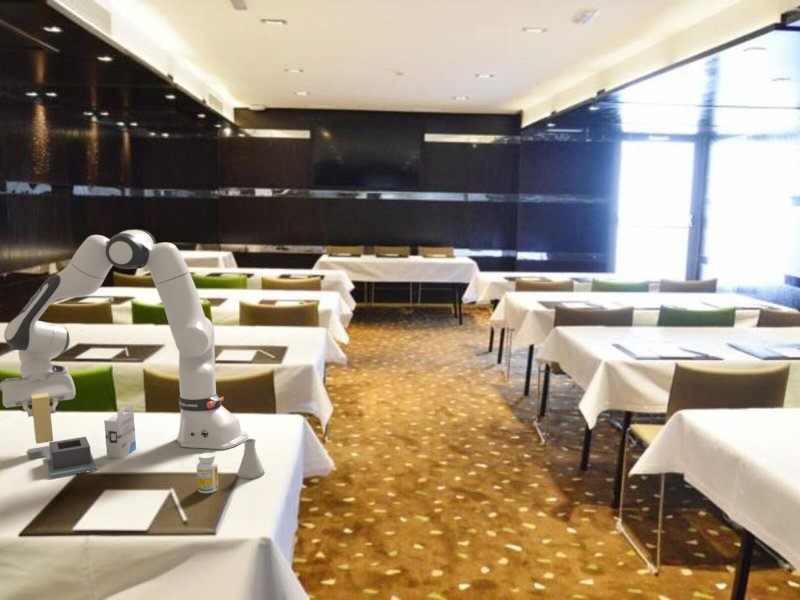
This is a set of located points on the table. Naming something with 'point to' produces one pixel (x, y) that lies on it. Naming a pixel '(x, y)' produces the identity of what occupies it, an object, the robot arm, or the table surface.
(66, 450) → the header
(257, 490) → the table surface
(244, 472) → the flask
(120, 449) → the ink box
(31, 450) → the pad
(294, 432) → the table surface
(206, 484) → the supplement bottle
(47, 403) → the plug
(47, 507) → the table surface
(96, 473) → the table surface
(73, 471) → the board
